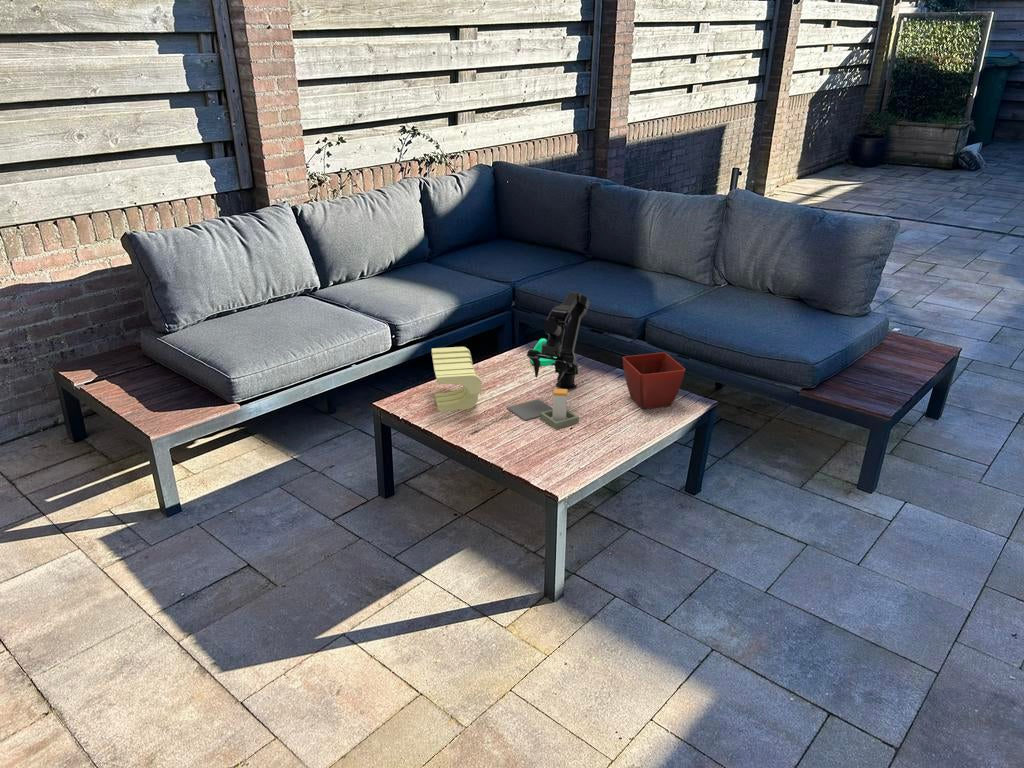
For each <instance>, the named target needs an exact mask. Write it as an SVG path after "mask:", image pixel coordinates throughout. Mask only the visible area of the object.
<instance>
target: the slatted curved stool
mask: <svg viewBox="0 0 1024 768" xmlns="http://www.w3.org/2000/svg"><path fill="white" fill-rule="evenodd" d="M431 357H432V364H433V371H434V375H435V379H436V383H437V384H438V385H458V386H462V387H461V388H459V389H457V390H455V391H454V390H453V391H448V392H441V393H440V392H439V393H434V400H435V403H436V404H435V405H436V409H437V411H439V412H441V411H443V412H444V411H455V410H468V409H472V408H475V406H476V405H477V403H478V400H479V394H482V380H481V378H480V377H479V375H477V374H476V370H475V368H474V363H473V358H472V354H471V351H470V349H469V348H467V347H466V346H453V347H435V348H431Z"/></svg>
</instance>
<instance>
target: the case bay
mask: <svg viewBox="0 0 1024 768" xmlns="http://www.w3.org/2000/svg"><path fill="white" fill-rule="evenodd" d="M552 416H553V409H552V410H549V411H545V412H541V413H540V417H539V419H540V420H541V421H543V422H545V424H547V425H549V426H550V427H552V428H553V429H555V430H558V429H559V430H560V429H562V427H563V428H565V427H569V426H572V424H573V425H576V424H578V423H579V422H580V416H579V415H577V414H576V413H574V412H572V411H570V410H568V409H567V414H566V419H565V420H561V421H558V422H557V421H555V420H553V419H552Z"/></svg>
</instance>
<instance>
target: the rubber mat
mask: <svg viewBox="0 0 1024 768" xmlns="http://www.w3.org/2000/svg"><path fill="white" fill-rule="evenodd" d="M552 409H553V406H550V405H548V404H547V403H545V402H544V401H542V400H540V398H537V399H532V400H529V401H524V402H522V403H521V402H520V403H518V404H515V405H514V404H513V405H511V406H507V407H506V410H507V411H510V413H512V414H514V415H515V416H516V417H518V418H519V419H521V420H522V421H524V422H528V421H531V420H534V419H538V418H540V413H541V412H545V411H549V410H552Z"/></svg>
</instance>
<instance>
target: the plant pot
mask: <svg viewBox="0 0 1024 768" xmlns="http://www.w3.org/2000/svg"><path fill="white" fill-rule="evenodd" d="M622 367H623V372H624V373H623V374H624V378H625V382H626V386H627V389H628V393H629V397H630V398H631V399H632V400H633V401H634V402H635V403H636V404H637V406H639V407H640V408H641V409H642V410H646V409H655V408H664V407H671V406H672V404H673V403H674V400H675V399H676V397H677V395H678V392H679V390H680V388H681V385H682V383H683V380H684V376H685V373H686V368H685V367H683V366H682V365H681V364H680V363H679V362H677V360H675V359H674V358H673V357H671V356H670V355H669V354H668V352H667V353H666V352H654V353H646V354H645V353H643V354H636V355H626V356H623V357H622Z"/></svg>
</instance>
